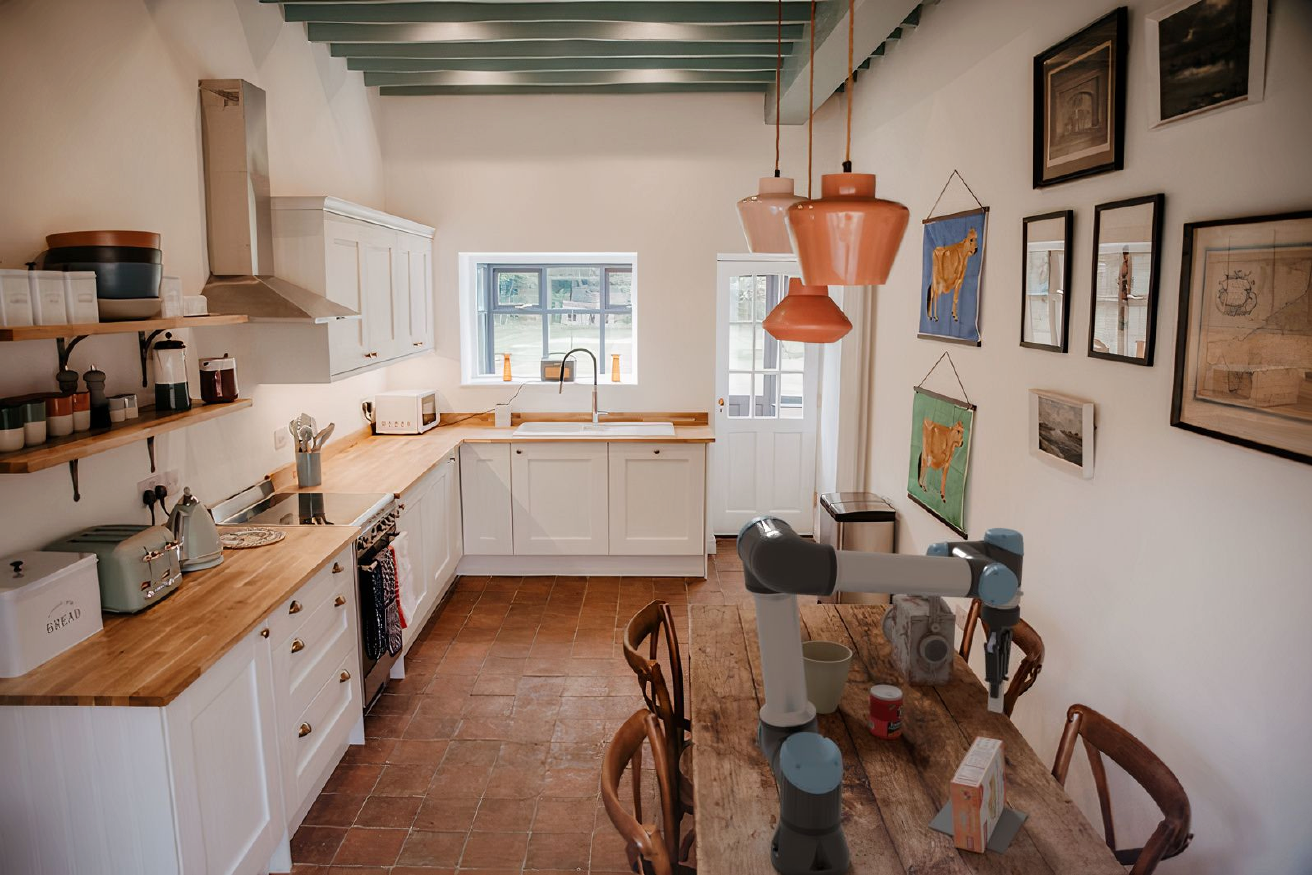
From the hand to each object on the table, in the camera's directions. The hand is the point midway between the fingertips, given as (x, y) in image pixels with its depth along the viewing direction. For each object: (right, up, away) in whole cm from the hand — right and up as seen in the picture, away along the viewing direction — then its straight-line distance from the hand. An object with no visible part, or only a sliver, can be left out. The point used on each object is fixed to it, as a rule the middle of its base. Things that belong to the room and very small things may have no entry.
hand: (995, 710), depth 185 cm
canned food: (-14, -17, +35) cm, 41 cm away
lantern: (+5, -11, +72) cm, 73 cm away
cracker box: (+1, -13, +2) cm, 13 cm away
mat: (-5, -22, -3) cm, 23 cm away
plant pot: (-27, -15, +49) cm, 58 cm away
